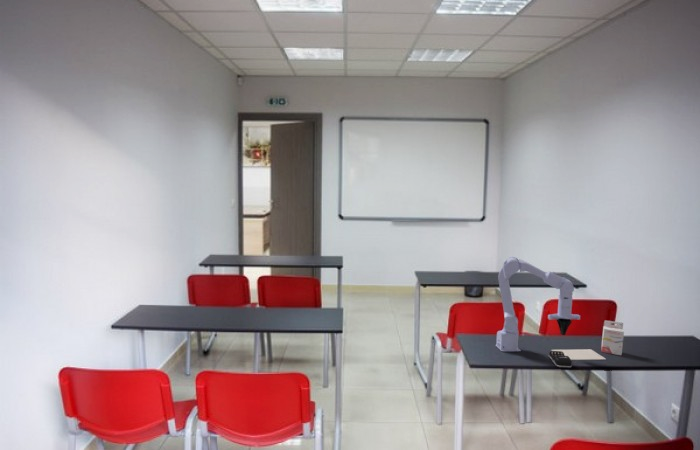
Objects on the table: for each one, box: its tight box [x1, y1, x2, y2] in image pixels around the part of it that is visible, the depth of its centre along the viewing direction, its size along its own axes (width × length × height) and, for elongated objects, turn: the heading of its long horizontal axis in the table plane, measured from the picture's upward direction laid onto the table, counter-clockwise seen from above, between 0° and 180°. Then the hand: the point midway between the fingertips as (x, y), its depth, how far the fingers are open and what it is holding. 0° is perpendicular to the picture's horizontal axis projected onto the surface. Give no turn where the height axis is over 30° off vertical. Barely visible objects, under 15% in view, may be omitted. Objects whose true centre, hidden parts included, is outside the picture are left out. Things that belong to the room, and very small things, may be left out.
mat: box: [550, 348, 607, 361], centre depth 226 cm, size 20×12×1 cm, turn 95°
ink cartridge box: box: [600, 319, 625, 356], centre depth 230 cm, size 9×5×15 cm, turn 65°
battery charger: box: [548, 350, 573, 369], centre depth 216 cm, size 7×4×11 cm
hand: (562, 334), depth 224 cm, fingers closed
